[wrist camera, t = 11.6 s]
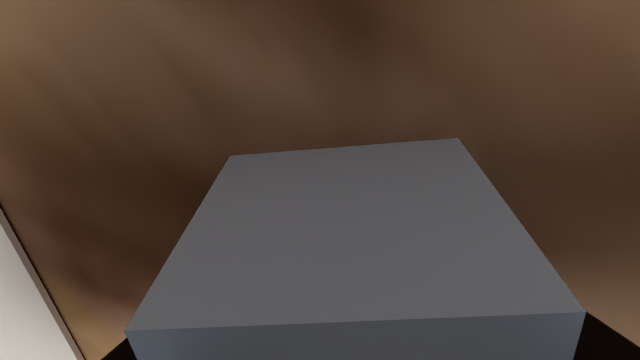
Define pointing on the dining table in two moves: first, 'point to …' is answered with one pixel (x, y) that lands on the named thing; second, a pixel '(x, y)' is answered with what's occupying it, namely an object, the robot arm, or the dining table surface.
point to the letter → (28, 309)
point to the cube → (356, 265)
